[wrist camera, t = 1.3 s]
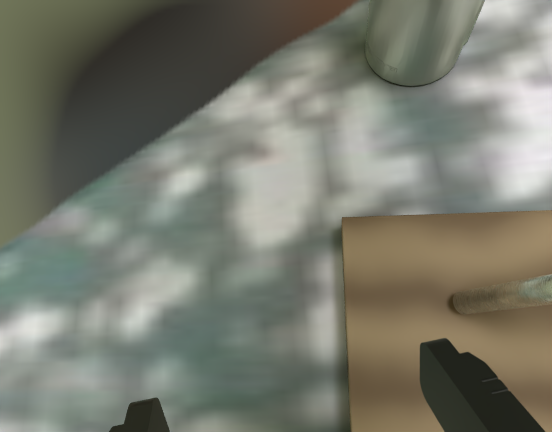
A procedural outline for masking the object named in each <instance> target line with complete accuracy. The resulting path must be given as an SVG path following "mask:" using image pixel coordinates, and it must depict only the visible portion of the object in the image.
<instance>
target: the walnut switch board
mask: <svg viewBox="0 0 552 432" xmlns="http://www.w3.org/2000/svg"><path fill="white" fill-rule="evenodd" d="M341 230H342V252H343V274H344V297H345V319H346V341H347V363H348V385H349V407H350V429H351V432H444V430H443V428H442V427H441V425H440V423H439V422H438V420H437V418H436V417H435V415H434V413H433V412H432V410H431V408H430V407H429V405H428V403H427V402H426V400H425V398H424V395H423V392H422V389H421V385H420V344H421V343H423V342H427V341H432V340H437V339H442V338H447V339H448V340H449V341H450V342H451V343H452V345H453V346H454V347H455V348H456V349H457V351H458V352H459V353H464V352H470V353H471V354H473V355H474V356H476V357H478V358H479V359H481V360H482V361H484V362H485V363H486V364H487V365H488V366H489V367H490V368H491V369H492V371H493V372H494V373H495V374H496V375H497V376H498V379H500V380H501V381H502V382H503V383H504V384H505V386H506V387H507V388H508V391H511V392H512V394H513V395H514V396H515V397H516V398H517V399H518V401H519V402H520V403H521V404H522V405H523V406H524V407H525V409H526V410H527V411H528V412H529V413H530V414H531V416H532V417H533V418H534V419H535V420H536V421H537V422H538V424H539V425H540V426H541V427H542V428H543V429H544V430H545V432H552V304H548V305H539V306H531V307H522V308H514V309H505V310H497V311H488V312H480V313H471V314H461V313H459V312H458V311H457V310H456V309H455V307H454V305H453V297H454V295H455V294H456V293H457V292H461V291H466V290H471V289H477V288H482V287H487V286H492V285H497V284H503V283H508V282H513V281H518V280H524V279H529V278H534V277H539V276H544V275H550V274H552V210H546V211H516V212H487V213H458V214H429V215H399V216H370V217H342V227H341Z"/></svg>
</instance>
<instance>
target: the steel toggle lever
mask: <svg viewBox="0 0 552 432" xmlns="http://www.w3.org/2000/svg"><path fill="white" fill-rule="evenodd" d="M548 304H552V274H550V275H544V276H539V277H534V278H529V279H524V280H518V281H513V282H508V283H503V284H497V285H492V286H487V287H482V288H477V289H471V290H466V291H461V292H457V293H456V294H455V295H454V297H453V305H454V307H455V309H456V310H457V311H458V312H459V313H461V314H471V313H480V312H488V311H497V310H505V309H514V308H522V307H531V306H539V305H548Z"/></svg>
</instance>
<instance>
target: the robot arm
mask: <svg viewBox="0 0 552 432" xmlns="http://www.w3.org/2000/svg"><path fill="white" fill-rule="evenodd" d="M484 2H485V0H370V3H369V13H368V23H367V33H366V43H365V54H366V59H367V61H368V63H369V65H370V67H371V68H372V69H373V70H374V71H375V73H377V74H378V75H379V76H381V77H382V78H383V79H385V80H387V81H390V82H392V83H395V84H399V85H406V86H417V85H424V84H428V83H432V82H434V81H436V80H438V79H440V78H442V77H443V76H444V75H446V74H447V73H448V72H449V71H450V70H451V69H452V68H453V67H454V65H455V63H456V61H457V59H458V57H459V55H460V52H461V50H462V47H463V45H464V44H465V43H467V41H468V39H469V37H470V34H471V32H472V30H473V27H474V25H475V23H476V20H477V18H478V16H479V13H480V11H481V9H482V6H483V4H484ZM420 385H421V389H422V392H423V395H424V398H425V400H426V402H427V403H428V405H429V407H430V408H431V410H432V412H433V413H434V415H435V417H436V418H437V420H438V422H439V423H440V425H441V427H442V428H443V430H444V432H545V430H544V429H543V428H542V427H541V426H540V425H539V424H538V422H537V421H536V420H535V419H534V418H533V417H532V416H531V414H530V413H529V412H528V411H527V410H526V409H525V407H524V406H523V405H522V404H521V403H520V402H519V401H518V399H517V398H516V397H515V396H514V395H513V394H512V392H511V391H508V388H507V387H506V386H505V384H504V383H503V382H502V381H501V380H500V379H498V376H497V375H496V374H495V373H494V372H493V371H492V369H491V368H490V367H489V366H488V365H487V364H486V363H485V362H484V361H482V360H481V359H479V358H478V357H476V356H474V355H473V354H471V353H470V352H464V353H459V352H458V351H457V349H456V348H455V347H454V346H453V345H452V343H451V342H450V341H449V340H448V339H447V338H442V339H437V340H432V341H427V342H423V343H421V344H420ZM109 432H170V430H169V427H168V425H167V422H166V419H165V416H164V413H163V410H162V407H161V404H160V401H159V399H158V398H152V399H147V400H142V401H137V402H133V403H130V405H129V407H128V410H127V414H126V418H125V422H124V424H122V425H118V426H113V427H112V428H111V430H110V431H109Z"/></svg>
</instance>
